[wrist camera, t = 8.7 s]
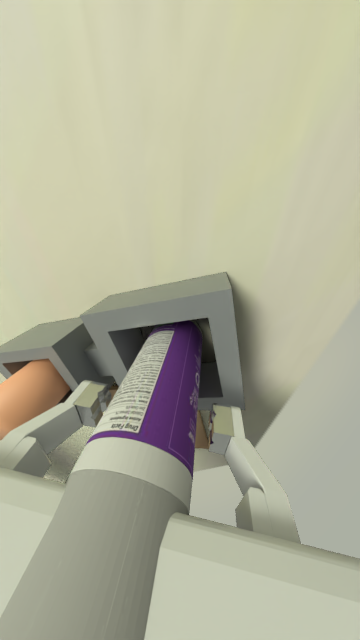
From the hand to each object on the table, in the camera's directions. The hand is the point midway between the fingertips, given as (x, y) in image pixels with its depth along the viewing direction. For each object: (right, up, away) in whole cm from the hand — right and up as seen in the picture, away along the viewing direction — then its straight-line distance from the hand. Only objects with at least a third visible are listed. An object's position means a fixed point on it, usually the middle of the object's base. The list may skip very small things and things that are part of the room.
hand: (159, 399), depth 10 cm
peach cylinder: (-10, +1, +8) cm, 13 cm away
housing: (-3, +3, +7) cm, 8 cm away
